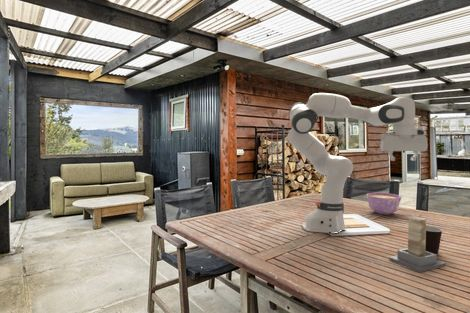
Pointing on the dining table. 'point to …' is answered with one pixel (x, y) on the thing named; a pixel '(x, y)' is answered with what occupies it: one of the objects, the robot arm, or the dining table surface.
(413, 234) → the beige wooden block
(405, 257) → the grey stepped tray
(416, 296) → the dining table surface
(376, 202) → the bowl of food
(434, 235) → the coffee mug
